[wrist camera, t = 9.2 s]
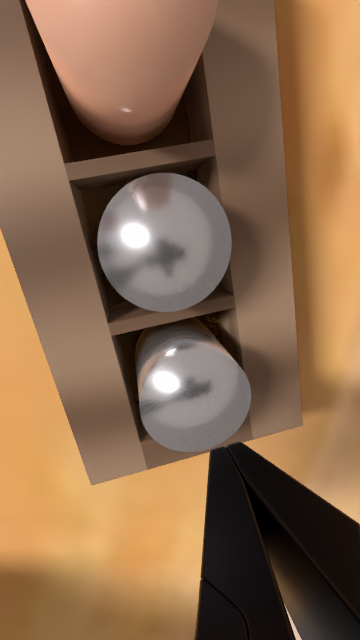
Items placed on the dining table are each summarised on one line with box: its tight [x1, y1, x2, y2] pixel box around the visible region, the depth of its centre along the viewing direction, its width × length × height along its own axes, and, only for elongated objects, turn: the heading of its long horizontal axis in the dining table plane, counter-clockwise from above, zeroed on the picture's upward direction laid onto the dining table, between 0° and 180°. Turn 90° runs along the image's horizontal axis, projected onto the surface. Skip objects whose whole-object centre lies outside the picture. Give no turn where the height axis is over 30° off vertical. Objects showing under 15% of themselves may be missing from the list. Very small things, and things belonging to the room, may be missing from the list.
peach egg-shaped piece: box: [25, 0, 218, 145], centre depth 8 cm, size 4×4×5 cm
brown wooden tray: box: [0, 0, 303, 485], centre depth 12 cm, size 19×10×3 cm, turn 11°
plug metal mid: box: [97, 173, 232, 312], centre depth 11 cm, size 4×4×5 cm
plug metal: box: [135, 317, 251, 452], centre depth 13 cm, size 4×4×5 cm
